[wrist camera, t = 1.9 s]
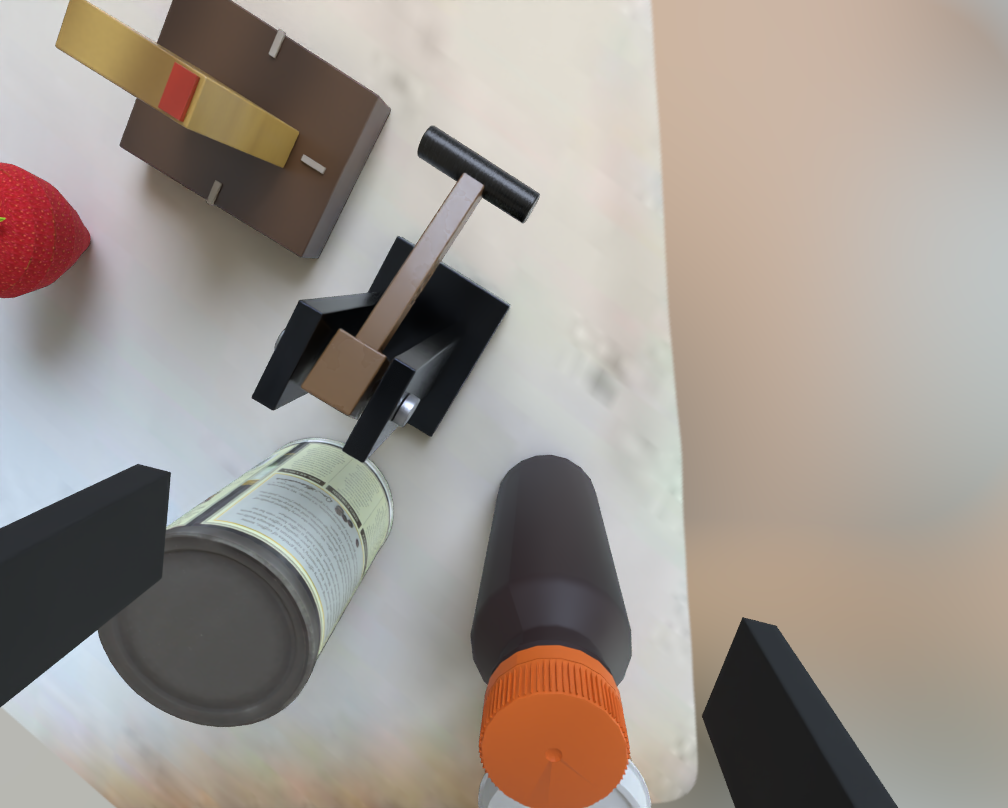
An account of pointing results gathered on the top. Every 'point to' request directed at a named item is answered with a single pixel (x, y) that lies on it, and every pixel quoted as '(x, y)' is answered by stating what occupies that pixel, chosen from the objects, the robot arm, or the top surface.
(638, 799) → the disposable coffee cup
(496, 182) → the door handle
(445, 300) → the bracket
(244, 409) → the top surface
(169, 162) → the plate
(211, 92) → the thumb turn
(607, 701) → the bottle
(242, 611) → the coffee can
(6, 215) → the strawberry
